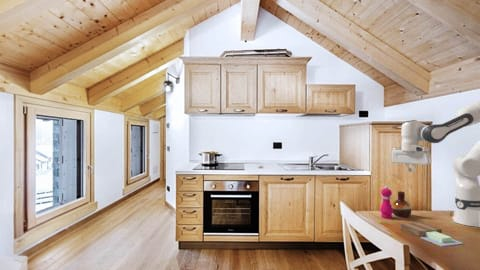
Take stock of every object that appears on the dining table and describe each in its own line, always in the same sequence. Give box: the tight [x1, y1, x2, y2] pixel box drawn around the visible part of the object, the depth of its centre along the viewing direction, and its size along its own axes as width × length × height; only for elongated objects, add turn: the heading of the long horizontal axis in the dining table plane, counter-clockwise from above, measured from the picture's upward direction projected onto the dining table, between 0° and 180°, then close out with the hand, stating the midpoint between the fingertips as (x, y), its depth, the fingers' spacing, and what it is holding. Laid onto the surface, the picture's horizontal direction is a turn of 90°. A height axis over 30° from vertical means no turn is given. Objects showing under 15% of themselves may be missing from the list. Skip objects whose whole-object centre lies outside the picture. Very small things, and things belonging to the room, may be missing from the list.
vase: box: [391, 190, 412, 218], centre depth 176 cm, size 11×11×15 cm
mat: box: [419, 236, 465, 247], centre depth 134 cm, size 13×12×1 cm
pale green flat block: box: [425, 231, 453, 243], centre depth 135 cm, size 6×9×2 cm, turn 12°
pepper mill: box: [379, 185, 393, 220], centre depth 173 cm, size 7×7×20 cm
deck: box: [400, 221, 443, 238], centre depth 146 cm, size 14×12×3 cm
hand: (410, 171), depth 159 cm, fingers closed
